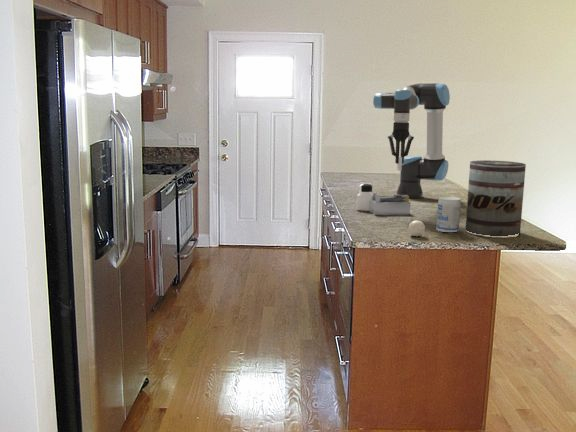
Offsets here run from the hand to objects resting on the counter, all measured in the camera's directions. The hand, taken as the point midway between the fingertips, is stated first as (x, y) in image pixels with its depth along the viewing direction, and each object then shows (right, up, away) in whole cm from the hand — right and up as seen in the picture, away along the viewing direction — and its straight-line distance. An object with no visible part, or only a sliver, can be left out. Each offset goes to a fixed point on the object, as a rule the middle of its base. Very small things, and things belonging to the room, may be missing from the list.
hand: (399, 170), depth 319 cm
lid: (-3, -14, +2) cm, 15 cm away
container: (-15, -19, +12) cm, 28 cm away
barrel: (+33, -30, -39) cm, 60 cm away
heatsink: (-4, -21, +3) cm, 22 cm away
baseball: (-2, -31, -50) cm, 59 cm away
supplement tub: (+14, -30, -39) cm, 51 cm away
